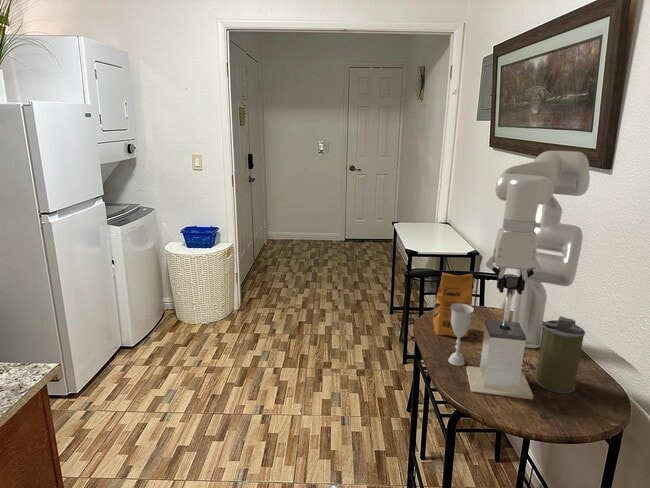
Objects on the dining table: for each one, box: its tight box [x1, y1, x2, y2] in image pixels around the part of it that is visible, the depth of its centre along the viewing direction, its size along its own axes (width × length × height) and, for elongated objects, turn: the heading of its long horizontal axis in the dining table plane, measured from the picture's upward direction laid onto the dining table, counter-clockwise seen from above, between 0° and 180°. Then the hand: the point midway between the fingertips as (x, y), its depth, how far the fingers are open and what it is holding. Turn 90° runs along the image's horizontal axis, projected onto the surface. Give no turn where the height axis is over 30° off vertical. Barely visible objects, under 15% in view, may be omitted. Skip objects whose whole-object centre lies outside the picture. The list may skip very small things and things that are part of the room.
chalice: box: [447, 303, 474, 367], centre depth 136 cm, size 7×7×18 cm
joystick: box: [465, 319, 534, 400], centre depth 124 cm, size 16×12×17 cm
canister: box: [534, 316, 586, 394], centre depth 124 cm, size 11×10×20 cm
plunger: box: [502, 273, 520, 330], centre depth 121 cm, size 6×6×22 cm
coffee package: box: [432, 272, 474, 338], centre depth 156 cm, size 10×12×22 cm
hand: (509, 291), depth 119 cm, fingers closed on plunger, 4 cm apart
